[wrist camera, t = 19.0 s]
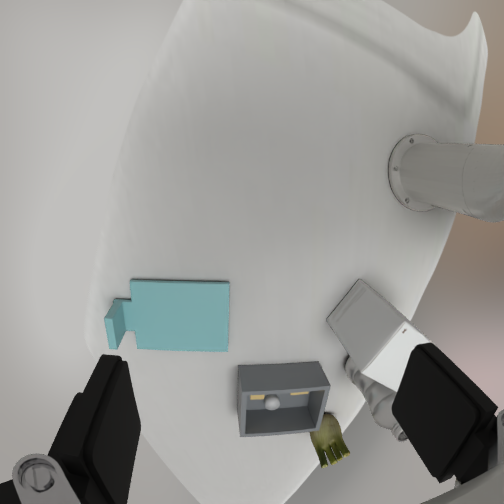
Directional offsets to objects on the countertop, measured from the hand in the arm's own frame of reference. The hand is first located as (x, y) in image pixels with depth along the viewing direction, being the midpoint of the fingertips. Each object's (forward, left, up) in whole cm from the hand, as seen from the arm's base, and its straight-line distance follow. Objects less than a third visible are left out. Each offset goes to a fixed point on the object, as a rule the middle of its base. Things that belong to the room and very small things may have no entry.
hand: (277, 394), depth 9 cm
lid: (+9, +16, -37) cm, 41 cm away
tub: (-9, +31, -36) cm, 49 cm away
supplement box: (-22, +16, -36) cm, 46 cm away
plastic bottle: (-24, +26, -36) cm, 51 cm away
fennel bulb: (-19, +41, -37) cm, 58 cm away
